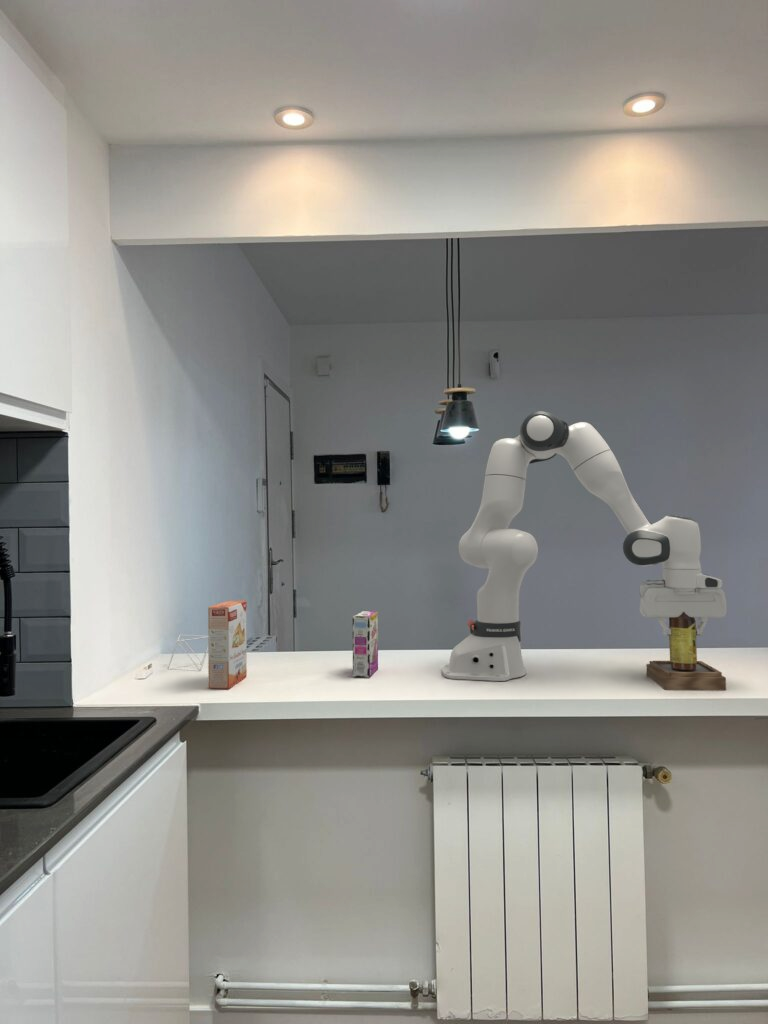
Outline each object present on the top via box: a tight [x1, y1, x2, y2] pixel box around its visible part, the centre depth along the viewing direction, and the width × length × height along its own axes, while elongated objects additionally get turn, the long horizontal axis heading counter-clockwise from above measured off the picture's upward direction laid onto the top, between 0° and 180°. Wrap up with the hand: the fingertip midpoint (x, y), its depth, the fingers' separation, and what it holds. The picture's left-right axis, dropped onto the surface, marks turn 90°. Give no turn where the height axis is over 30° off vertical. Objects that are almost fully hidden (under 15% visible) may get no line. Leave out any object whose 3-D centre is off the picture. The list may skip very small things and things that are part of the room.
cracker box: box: [207, 600, 248, 690], centre depth 180 cm, size 14×6×21 cm, turn 173°
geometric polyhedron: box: [167, 634, 208, 672], centre depth 199 cm, size 12×11×9 cm
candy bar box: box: [352, 610, 379, 679], centre depth 188 cm, size 11×5×16 cm, turn 168°
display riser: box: [645, 660, 727, 691], centre depth 172 cm, size 14×15×4 cm
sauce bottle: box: [668, 612, 698, 671], centre depth 172 cm, size 6×6×20 cm
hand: (682, 635), depth 172 cm, fingers closed on sauce bottle, 6 cm apart
